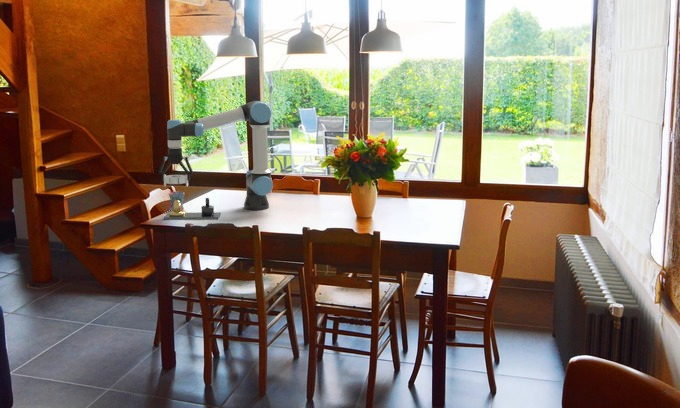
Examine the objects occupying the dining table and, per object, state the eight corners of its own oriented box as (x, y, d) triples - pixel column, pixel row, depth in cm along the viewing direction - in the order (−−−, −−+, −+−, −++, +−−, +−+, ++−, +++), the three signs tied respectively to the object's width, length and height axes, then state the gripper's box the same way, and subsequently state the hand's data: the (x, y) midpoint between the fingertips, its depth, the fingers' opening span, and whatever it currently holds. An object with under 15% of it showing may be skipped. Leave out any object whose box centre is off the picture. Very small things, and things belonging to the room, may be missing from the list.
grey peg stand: (220, 214, 391) (220, 196, 389) (218, 219, 378) (217, 200, 376) (168, 214, 389) (167, 196, 387) (163, 219, 376) (163, 200, 374)
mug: (178, 212, 395) (177, 194, 393) (165, 211, 399) (164, 193, 397) (191, 209, 406) (190, 191, 403) (178, 207, 410) (178, 190, 407)
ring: (188, 180, 385) (187, 174, 384) (184, 184, 374) (184, 177, 373) (167, 180, 384) (167, 174, 383) (163, 184, 373) (163, 177, 372)
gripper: (197, 147, 380) (198, 185, 384) (154, 146, 378) (156, 184, 382) (195, 148, 372) (196, 187, 376) (151, 148, 371) (153, 187, 375)
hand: (176, 186), depth 379 cm, fingers closed on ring, 11 cm apart
